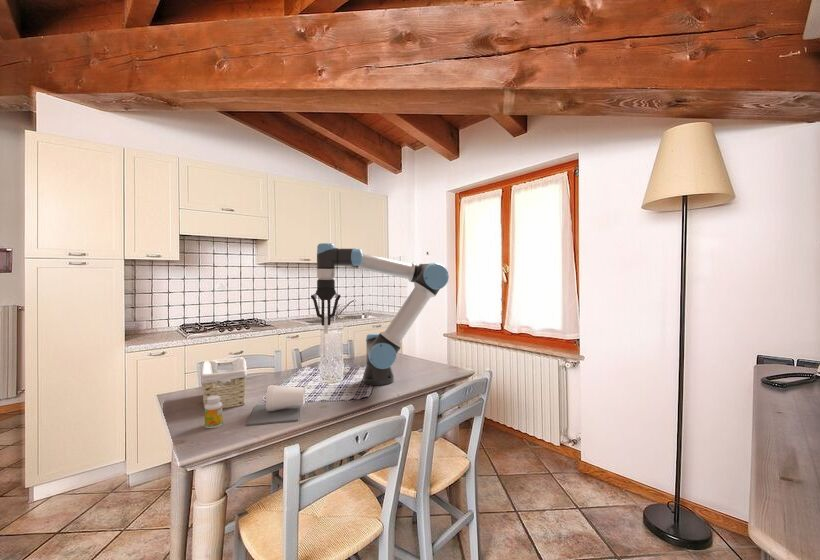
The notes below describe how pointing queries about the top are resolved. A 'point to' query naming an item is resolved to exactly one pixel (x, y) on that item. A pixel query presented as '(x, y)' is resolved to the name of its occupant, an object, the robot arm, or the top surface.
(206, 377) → the storage basket
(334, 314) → the robot arm
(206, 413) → the supplement bottle
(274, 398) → the foam cup
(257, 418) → the charcoal mat
